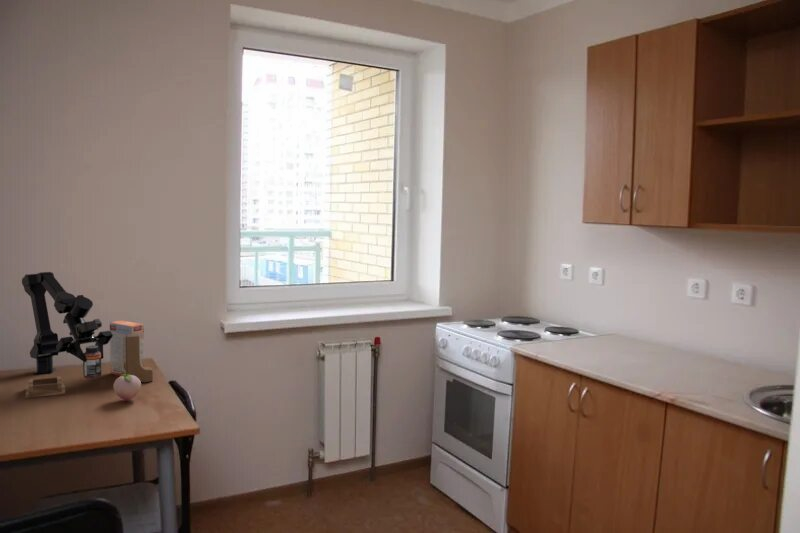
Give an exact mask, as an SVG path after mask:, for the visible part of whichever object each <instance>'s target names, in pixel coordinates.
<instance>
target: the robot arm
mask: <svg viewBox="0 0 800 533" xmlns="http://www.w3.org/2000/svg"><path fill="white" fill-rule="evenodd" d="M21 285H22V286H23V289H24V292H25V293H26V294H27V295H28V296H29V297H30V299H31V300H30V301H31V306H32V311H33V312H32V313H33V318H34V321H35V322H34V323H35V329H36V334H35V336H34V339H33V345H32V347H31V349H30V351H29V356H30V358H31V359H34V360H35V363H36V364H35V365H36V370H35V371H33V374H34V375H35V374H36V375H37V374H52V373H54V371H56V370H57V367H54V357H55V356H58V355H59V353H64V352H66V354H71V355H72V356H74V357H75V358H77V359H79V360H80V361H81V362H82V363H83V362H86V361H87V360H86V357H85V355H84V353H85V352H84V351H83V349H82V347H81V345H84V344H92V343H93V344H94V346H98V351H99V352H100V353H101V360H103V359H104V346H105V345H107V344H109V343H110V339H111V338H112V336H113V334H112V332H111V331H110V330H104V331H99V332H98V334H97V335H95V333H96V332H95V331H97V330H99V328H101V327H102V326H103V324H102V321H101V320H100V318H96V319H93V320H90V321H86V320H85V319H84V318H86V317H87V316H88V314H89V312H90V311H91V309H92V307H93V305H94V304H93V301H92V300H91V299H90V298H88V297H86V296H84V295H83V294H79V295H78V294H77V295H76V296H75V295H74V294H72V293H70V292H67V291H66V290H65V289H64V287H63V286H62V285H61V284H60V283H59V281H58V280H57V279H56V278H55V275H54V273H53V272H51V271H42V272H38V273H29V274H25V275H24V276H23V277H22V279H21ZM47 292H48V294H49V296H50V297H51V298H52V299H53V301H54V303H53V307H54V309H55V311H56V312H57V313H58V314H60V315H61V314H66V315H64V319H62V320H63V321H62V323H63V324H66V325H67V327H68V329H69V331H70V332H69V335H70V336H64V337H61V338H60V339H59V335H58V333H57V332H53V330H52V329H51V323H50V318H49V311H48V305H47V301H46V293H47Z"/></svg>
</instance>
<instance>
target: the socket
mask: <svg viewBox="0 0 800 533" xmlns="http://www.w3.org/2000/svg"><path fill="white" fill-rule="evenodd" d="M64 394H66V388H65V382H64V383H63V382H62V376H53V377H50V376H49V377H40V378H33V379H30V378H29V379H28V387H27V386H26V387H25V399H29V398H30V397H32V398H39V397H41V398H42V397H46V396H47V397H49V396H56V395H57V396H58V395H64Z"/></svg>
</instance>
